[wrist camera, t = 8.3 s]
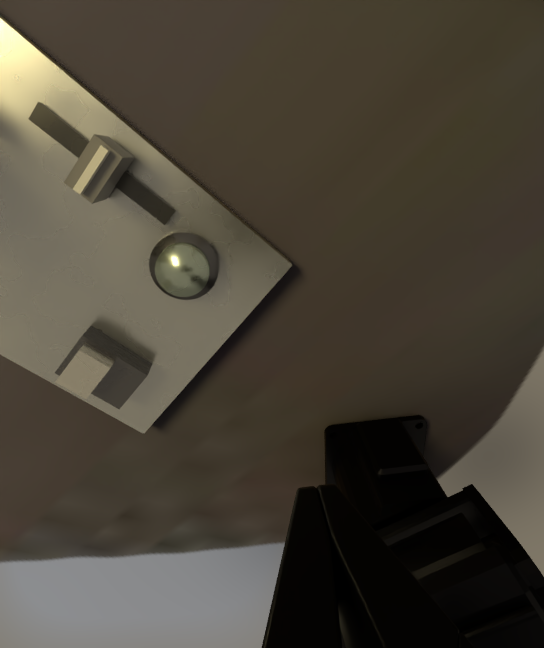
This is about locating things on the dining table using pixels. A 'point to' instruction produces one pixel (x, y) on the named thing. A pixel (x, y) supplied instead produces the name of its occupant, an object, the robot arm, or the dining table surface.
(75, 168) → the fader knob
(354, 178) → the dining table surface
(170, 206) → the switch panel
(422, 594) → the robot arm
